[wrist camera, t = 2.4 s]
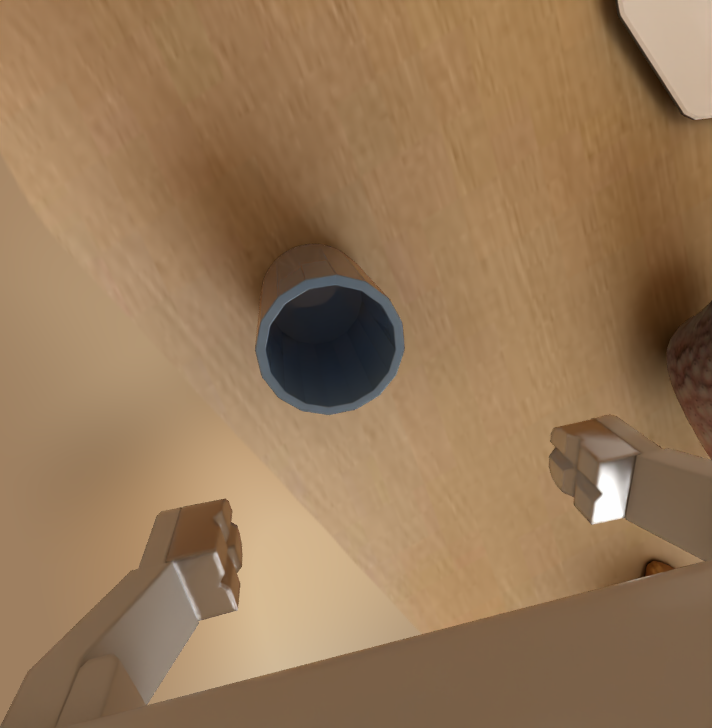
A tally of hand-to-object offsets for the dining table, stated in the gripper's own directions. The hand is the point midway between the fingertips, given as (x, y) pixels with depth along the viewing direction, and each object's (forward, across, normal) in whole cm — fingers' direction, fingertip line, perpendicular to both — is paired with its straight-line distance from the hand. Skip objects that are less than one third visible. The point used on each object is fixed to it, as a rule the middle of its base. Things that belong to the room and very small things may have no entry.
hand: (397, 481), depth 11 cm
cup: (+19, +1, 0) cm, 19 cm away
